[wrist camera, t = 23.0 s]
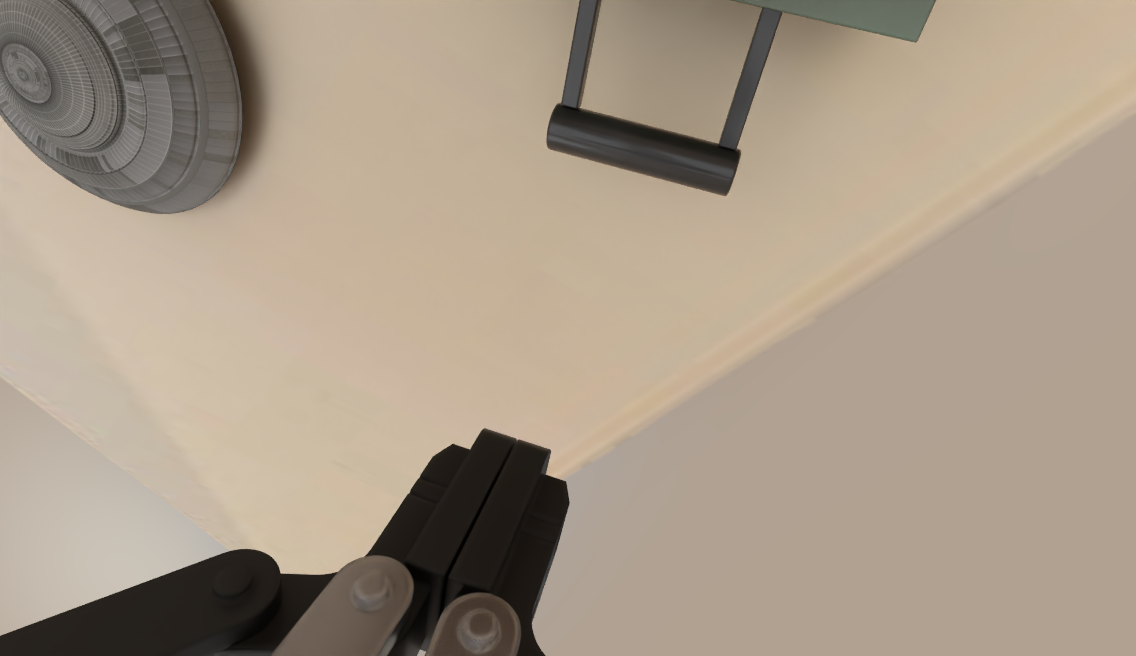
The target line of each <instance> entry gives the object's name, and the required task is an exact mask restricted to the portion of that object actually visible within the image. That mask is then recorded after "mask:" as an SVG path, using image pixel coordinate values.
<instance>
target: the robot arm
mask: <svg viewBox="0 0 1136 656" xmlns="http://www.w3.org/2000/svg"><path fill="white" fill-rule="evenodd" d="M550 454H551V450H550V449H547V448H544V447H541V446H538V445H534V444H531V443H528V442H525V441H522V440H518V441H517V439H516V438H513V437H510V436H507V435H504V434H500V433H497V432H494V431H491V430H488V429H485V428H484V429H483V430H482V431H481V432H480V434H479V436H478V437H477V439H476V441H475V442H474V444H473V446H472V447H471V449H470V450H469V449H466V448H463V447H460V446H457V445H455V444H452V445H450V446H449V447H447V448H445V449H444V450H442V451H441V452H439V453H438V454H436V455H435V456H433V457H432V459H431V460H430V462H429V463H428V465H427V466H426V468H425V469H424V471H423V472H422V474H421V476H420V478H419V479H418V480H417V481H416V483H415V484H414V486H413V487H412V489H411V491H410V493H409V494H408V495H407V496H406V498H405V499H404V501H403V502H402V504H401V505H400V507H399V508H398V510H397V511H396V513H395V514H394V516H393V517H392V519H391V520H390V522H389V523H388V525H387V526H386V528H385V529H384V531H383V532H382V534H381V535H380V537H379V538H378V540H377V541H376V543H375V544H374V546H373V547H372V549H371V550H370V551H369V552H368V554H367V555H366V556H365V557H362V558H359V559H356V560H354V561H352V562H350V563H348V564H347V565H345V566H344V567H343V568H342V569H341V570H340V571H339V572H335V573H332V574H325V575H304V574H280V570H279V567H278V565H277V563H276V561H275V560H274V559H273V558H272V557H270V556H269V555H268V554H266V553H263V552H261V551H257V550H252V549H239V550H233V551H229V552H226V553H222V554H220V555H217V556H214V557H212V558H209V559H206V560H204V561H201V562H198V563H196V564H193V565H190V566H188V567H185V568H182V569H179V570H177V571H174V572H171V573H169V574H166V575H163V576H160V577H158V578H155V579H152V580H150V581H147V582H144V583H141V584H139V585H136V586H133V587H131V588H128V589H125V590H123V591H120V592H117V593H115V594H112V595H109V596H107V597H104V598H101V599H98V600H96V601H93V602H90V603H87V604H85V605H82V606H79V607H77V608H74V609H71V610H69V611H66V612H63V613H60V614H58V615H55V616H53V617H50V618H47V619H45V620H42V621H39V622H36V623H34V624H31V625H28V626H25V627H23V628H20V629H17V630H15V631H12V632H9V633H7V634H4V635H1V636H0V656H417V654H418V652H419V650H420V649H421V650H423V651H426V654H425V656H545V655H544V653H543V652H542V651H541V649H540V648H539V646H538V644H537V642H536V640H535V637H534V634H533V630H532V621H533V618H534V615H535V612H536V609H537V606H538V603H539V600H540V597H541V594H542V591H543V588H544V585H545V582H546V580H547V577H548V573H549V570H550V568H551V565H552V562H553V559H554V556H555V553H556V550H557V546H558V542H559V539H560V535H561V532H562V528H563V524H564V521H565V517H566V514H567V510H568V506H569V497H568V490H567V484H566V481H563V480H560V479H557V478H554V477H551V476H548V475H546V471H547V467H548V462H549V458H550Z"/></svg>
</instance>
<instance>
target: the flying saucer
mask: <svg viewBox="0 0 1136 656" xmlns="http://www.w3.org/2000/svg"><path fill="white" fill-rule="evenodd" d="M0 115H1V117H2V118H3V119H4V121H5V122H6V123H7V124H8V126H9V127H10V128H11V129H12V131H13V132H14V133H15V134H16V135H17V136H18V138H19V139H20V140H21V141H22V142H23V143H24V144H25V145H26V146H27V147H28V148H29V149H30V150H31V151H32V152H33V153H34V154H35V155H36V156H37V157H38V158H40V159H41V160H42V161H43V162H44V163H45V164H47V165H48V166H49V167H51V168H52V169H53V170H54V171H56V172H57V173H59V174H60V175H62V176H63V177H64V178H66V179H67V180H69V181H70V182H72V183H73V184H75V185H77V186H78V187H80V188H82V189H84V190H86V191H88V192H89V193H91V194H93V195H96V196H98V197H100V198H102V199H104V200H107V201H109V202H112V203H114V204H117V205H120V206H123V207H126V208H130V209H134V210H138V211H144V212H149V213H159V214H170V213H179V212H184V211H187V210H191V209H193V208H196V207H198V206H200V205H202V204H203V203H205V202H206V201H208V200H209V199H210V198H212V197H213V196H214V195H215V194H216V193H217V192H218V191H219V190H220V189H221V187H222V186H223V185H224V183H225V182H226V181H227V179H228V177H229V175H230V174H231V171H232V169H233V167H234V165H235V162H236V159H237V155H238V152H239V147H240V142H241V135H242V100H241V91H240V85H239V79H238V75H237V70H236V66H235V63H234V59H233V56H232V53H231V49H230V46H229V44H228V41H227V38H226V36H225V33H224V31H223V28H222V26H221V24H220V21H219V19H218V17H217V15H216V13H215V11H214V9H213V7H212V5H211V3H210V1H209V0H0Z"/></svg>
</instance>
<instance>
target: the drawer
mask: <svg viewBox="0 0 1136 656" xmlns="http://www.w3.org/2000/svg"><path fill="white" fill-rule="evenodd" d="M601 1H602V0H580V1H579V7H578V13H577V18H576V24H575V30H574V35H573V41H572V46H571V52H570V58H569V63H568V69H567V74H566V80H565V86H564V91H563V97H562V102H561V103H558V104H557V105H556V106H555V108H554V110H553V112H552V115H551V118H550V121H549V125H548V130H547V147H548V148H549V149H550V150H554V151H558V152H562V153H565V154H569V155H573V156H577V157H580V158H584V159H588V160H591V161H595V162H599V163H603V164H606V165H610V166H614V167H618V168H621V169H625V170H629V171H633V172H636V173H640V174H644V175H647V176H651V177H655V178H659V179H662V180H666V181H670V182H674V183H677V184H681V185H685V186H689V187H692V188H696V189H700V190H703V191H707V192H711V193H715V194H718V195H722V196H726V195H727V194H728V193H729V190H730V188H731V185H732V183H733V180H734V177H735V174H736V171H737V167H738V164H739V160H740V156H741V150H740V149H737V146H738V143H739V140H740V137H741V134H742V131H743V128H744V125H745V122H746V119H747V116H748V113H749V110H750V107H751V104H752V101H753V98H754V95H755V92H756V89H757V87H758V84H759V81H760V78H761V75H762V72H763V69H764V66H765V63H766V60H767V57H768V54H769V51H770V48H771V45H772V42H773V39H774V36H775V33H776V30H777V27H778V24H779V21H780V18H781V15H782V12H784V13H789V14H793V15H797V16H802V17H806V18H811V19H815V20H819V21H824V22H828V23H832V24H837V25H841V26H845V27H850V28H854V29H859V30H863V31H867V32H872V33H876V34H880V35H885V36H889V37H893V38H898V39H902V40H906V41H911V42H917V41H918V39H919V37H920V35H921V32H922V30H923V28H924V26H925V23H926V21H927V19H928V17H929V15H930V12H931V10H932V8H933V6H934V3H935V1H936V0H732V1H736V2H741V3H745V4H750V5H754V6H758V7H762V9H761V12H760V15H759V18H758V22H757V25H756V28H755V31H754V34H753V37H752V40H751V43H750V47H749V50H748V53H747V56H746V59H745V62H744V65H743V68H742V72H741V75H740V78H739V81H738V84H737V87H736V90H735V94H734V97H733V100H732V103H731V106H730V109H729V112H728V115H727V119H726V122H725V125H724V128H723V131H722V134H721V137H720V140H719V144H718V143H714V142H710V141H706V140H702V139H698V138H694V137H690V136H686V135H683V134H679V133H675V132H671V131H667V130H663V129H659V128H655V127H652V126H648V125H644V124H640V123H636V122H632V121H628V120H624V119H621V118H617V117H613V116H609V115H605V114H601V113H597V112H593V111H590V110H586V109H582V108H579V107H580V106H581V103H582V98H583V93H584V88H585V83H586V78H587V73H588V67H589V62H590V57H591V52H592V47H593V42H594V37H595V31H596V26H597V21H598V16H599V11H600V6H601Z"/></svg>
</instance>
